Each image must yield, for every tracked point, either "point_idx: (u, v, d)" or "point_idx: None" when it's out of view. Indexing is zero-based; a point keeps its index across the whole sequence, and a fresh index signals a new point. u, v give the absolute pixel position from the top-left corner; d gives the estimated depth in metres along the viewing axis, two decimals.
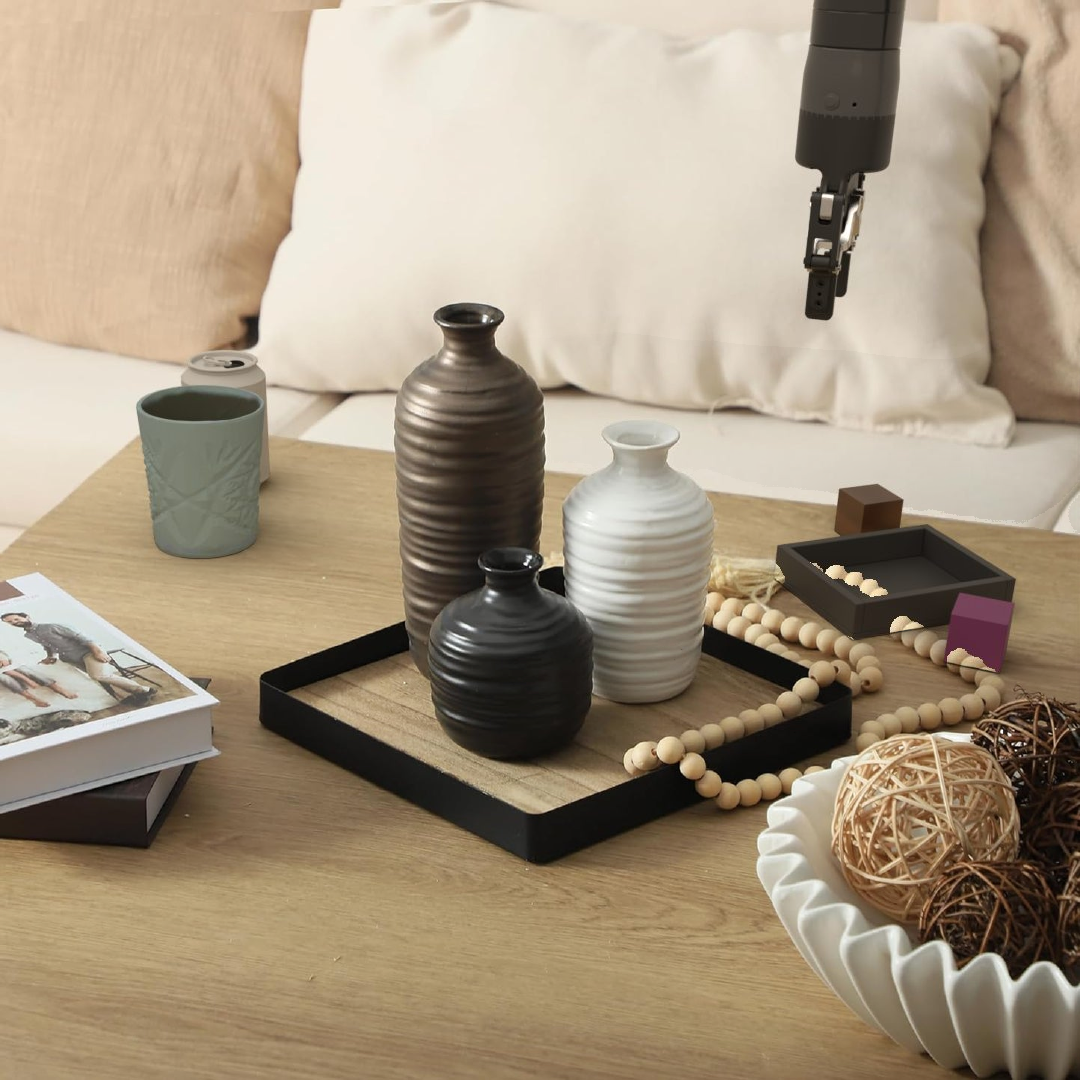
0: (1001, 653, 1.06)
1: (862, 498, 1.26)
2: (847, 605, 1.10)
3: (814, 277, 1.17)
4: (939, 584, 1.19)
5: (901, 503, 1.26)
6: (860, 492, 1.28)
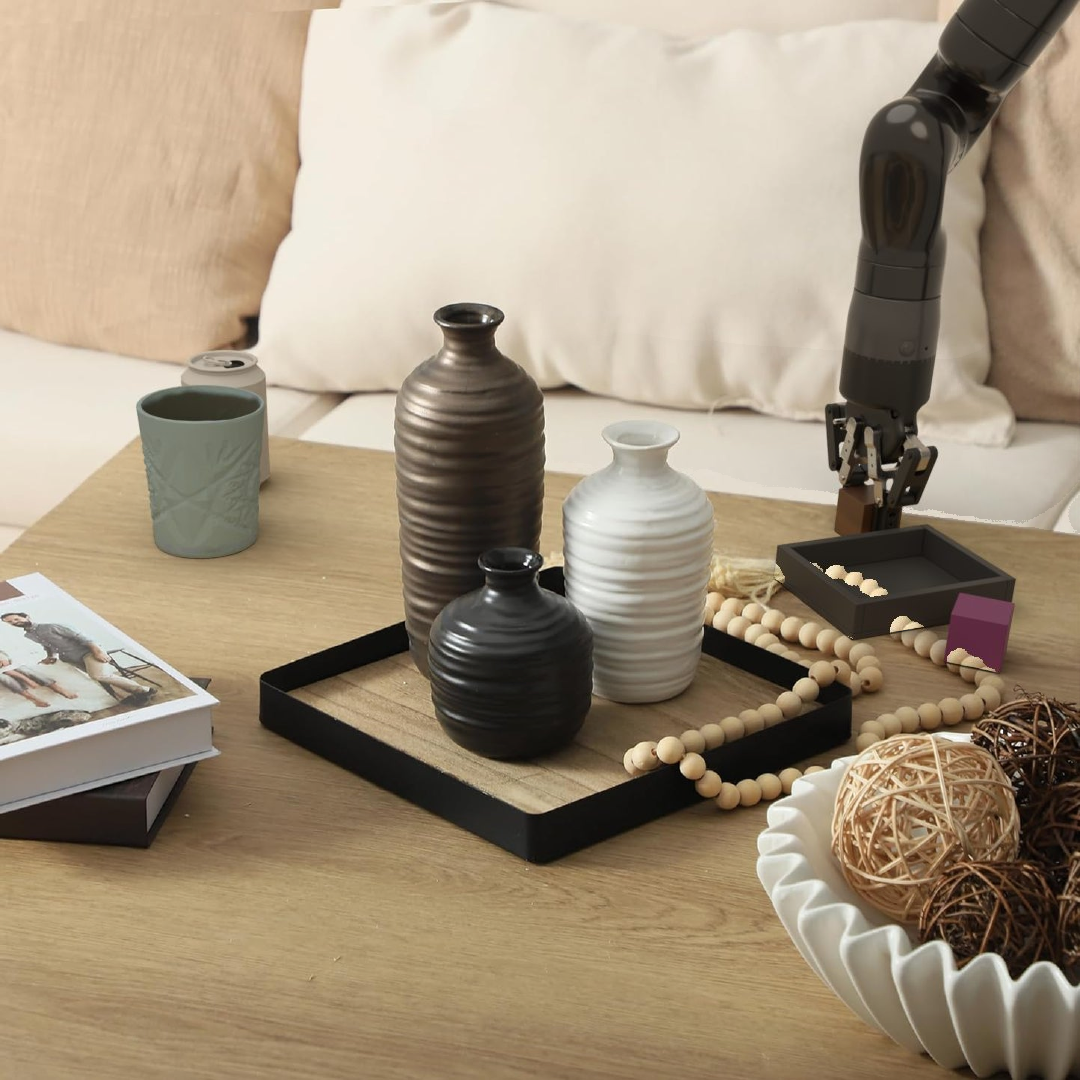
0: (1001, 653, 1.06)
1: (862, 498, 1.26)
2: (847, 605, 1.10)
3: (887, 511, 1.24)
4: (939, 584, 1.19)
5: None
6: (860, 492, 1.28)
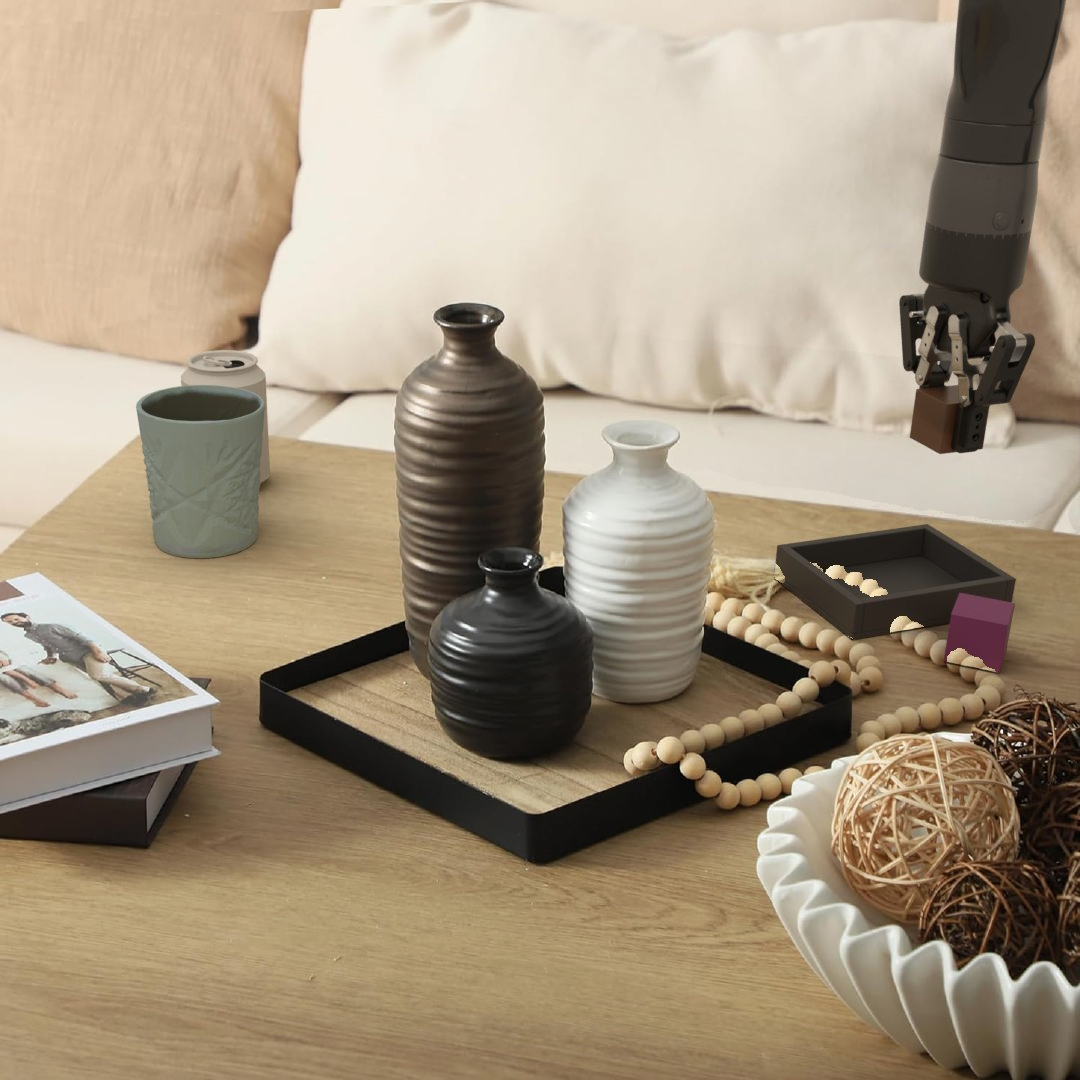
0: (1001, 653, 1.06)
1: (944, 398, 1.12)
2: (847, 605, 1.10)
3: (974, 411, 1.10)
4: (939, 584, 1.19)
5: None
6: (940, 392, 1.13)
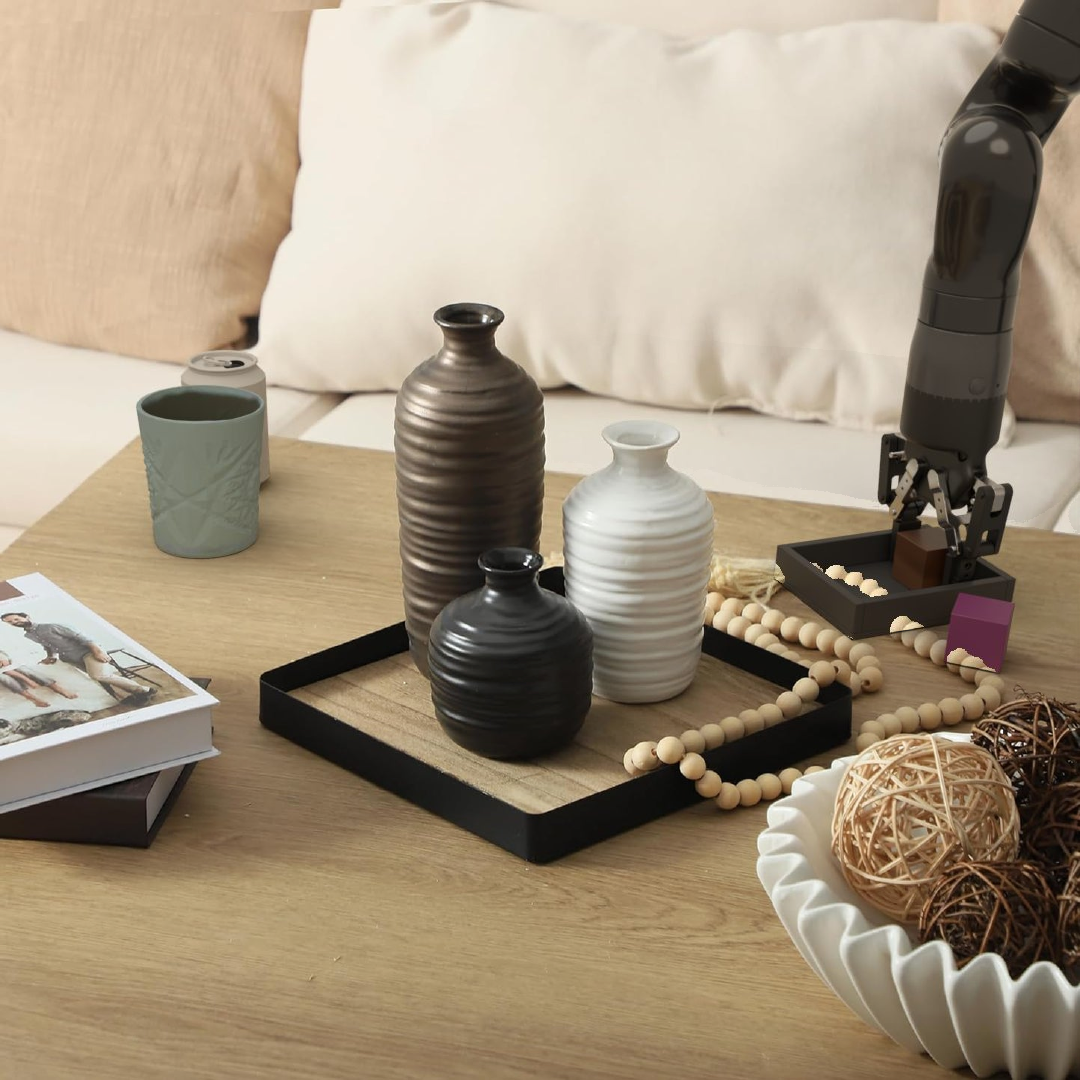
0: (1001, 653, 1.06)
1: (924, 543, 1.16)
2: (847, 605, 1.10)
3: (963, 561, 1.13)
4: None
5: None
6: (921, 536, 1.18)
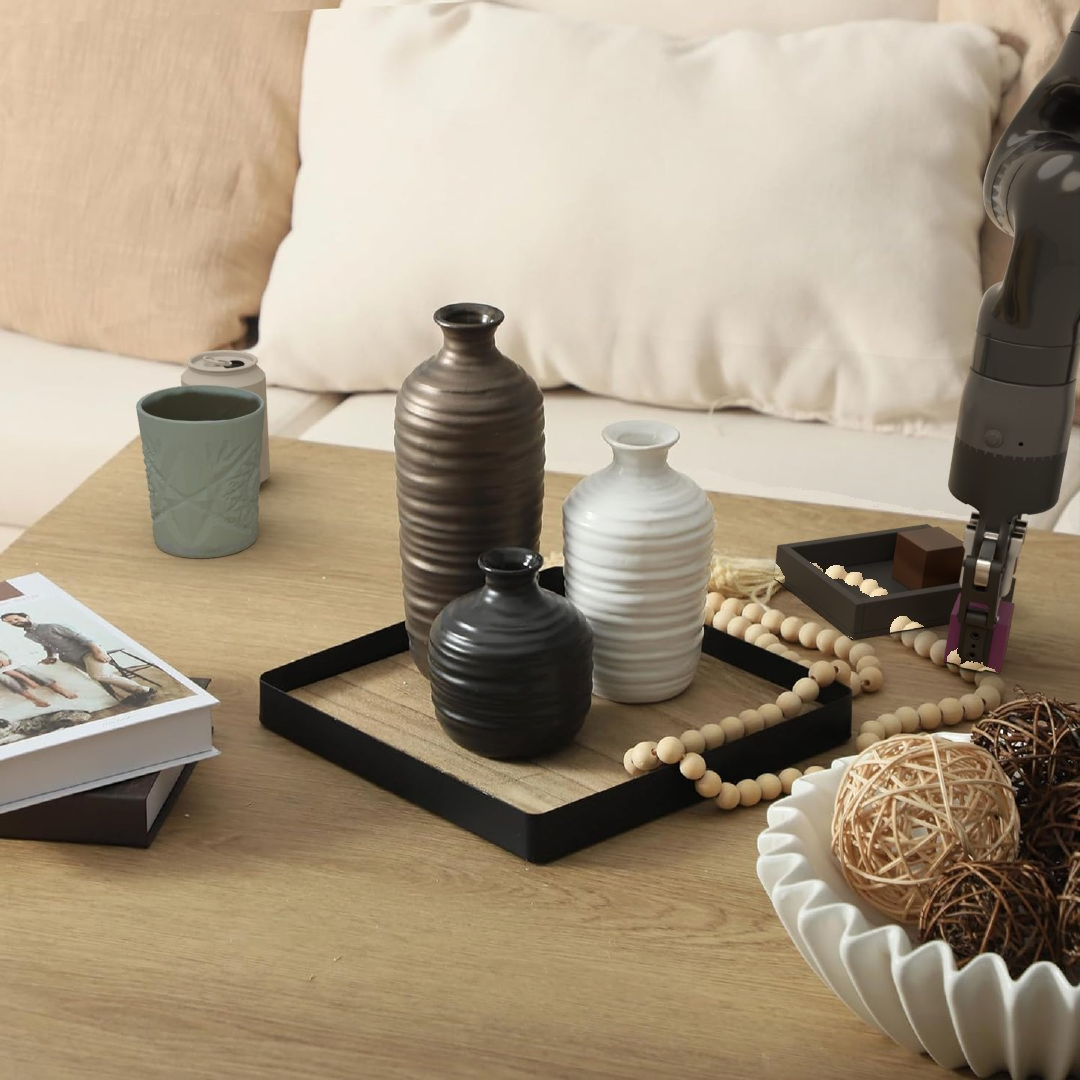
0: (1001, 653, 1.06)
1: (924, 543, 1.16)
2: (847, 605, 1.10)
3: (968, 628, 1.04)
4: None
5: None
6: (921, 536, 1.18)
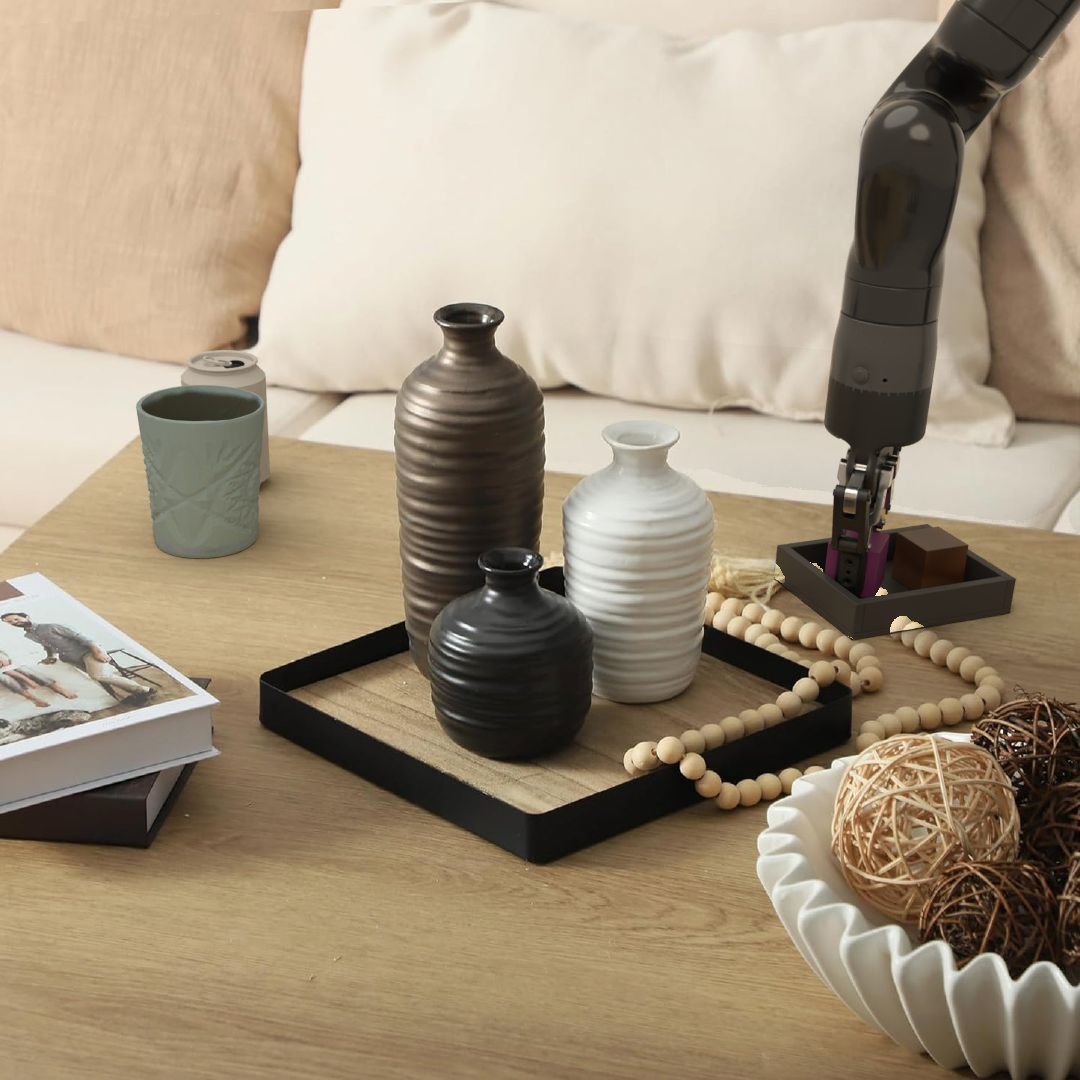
0: (874, 580, 1.13)
1: (924, 543, 1.16)
2: (847, 605, 1.10)
3: (843, 555, 1.12)
4: None
5: (966, 549, 1.16)
6: (921, 536, 1.18)
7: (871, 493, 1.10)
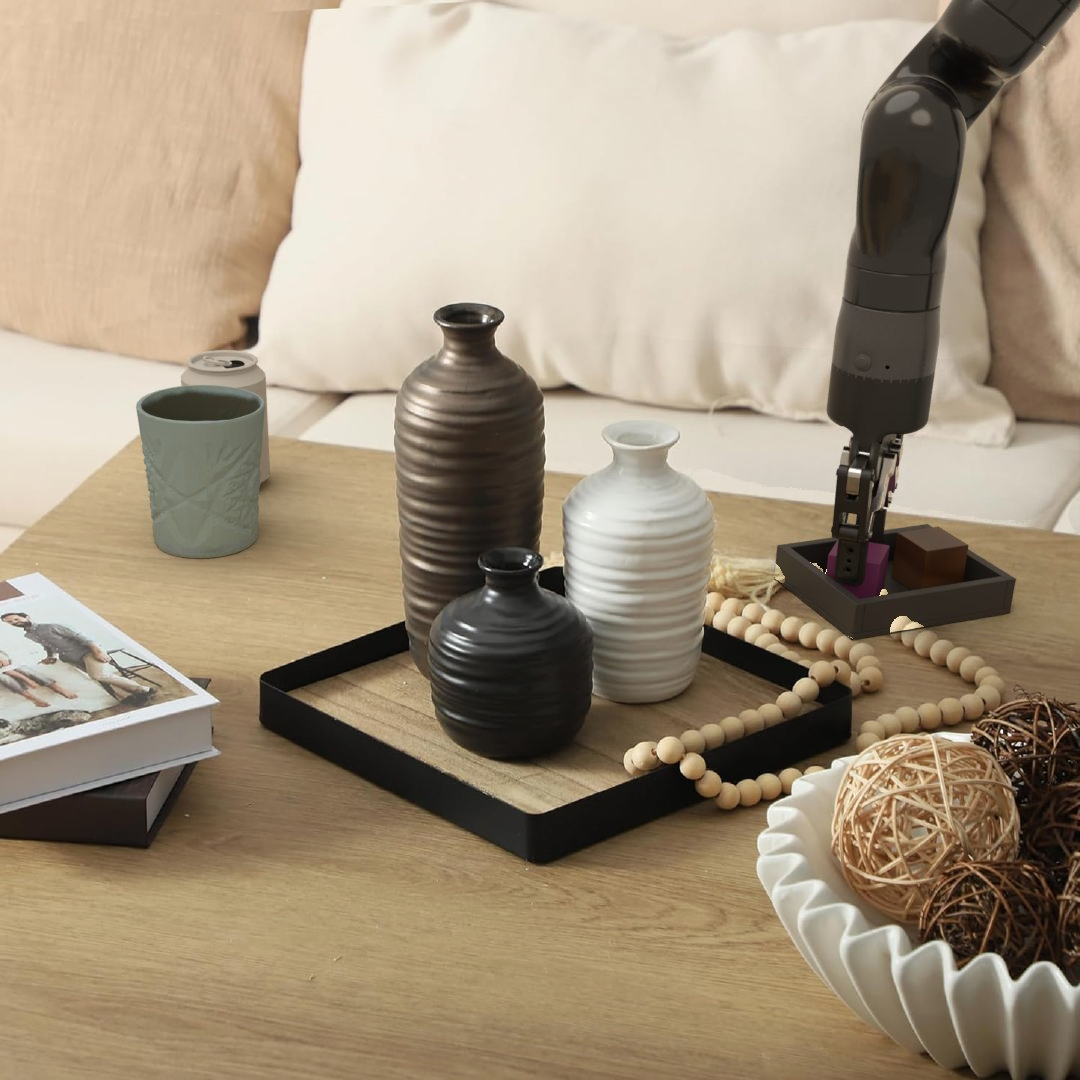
0: (874, 591, 1.13)
1: (924, 543, 1.16)
2: (847, 605, 1.10)
3: (843, 544, 1.11)
4: None
5: (966, 549, 1.16)
6: (921, 536, 1.18)
7: (874, 481, 1.09)
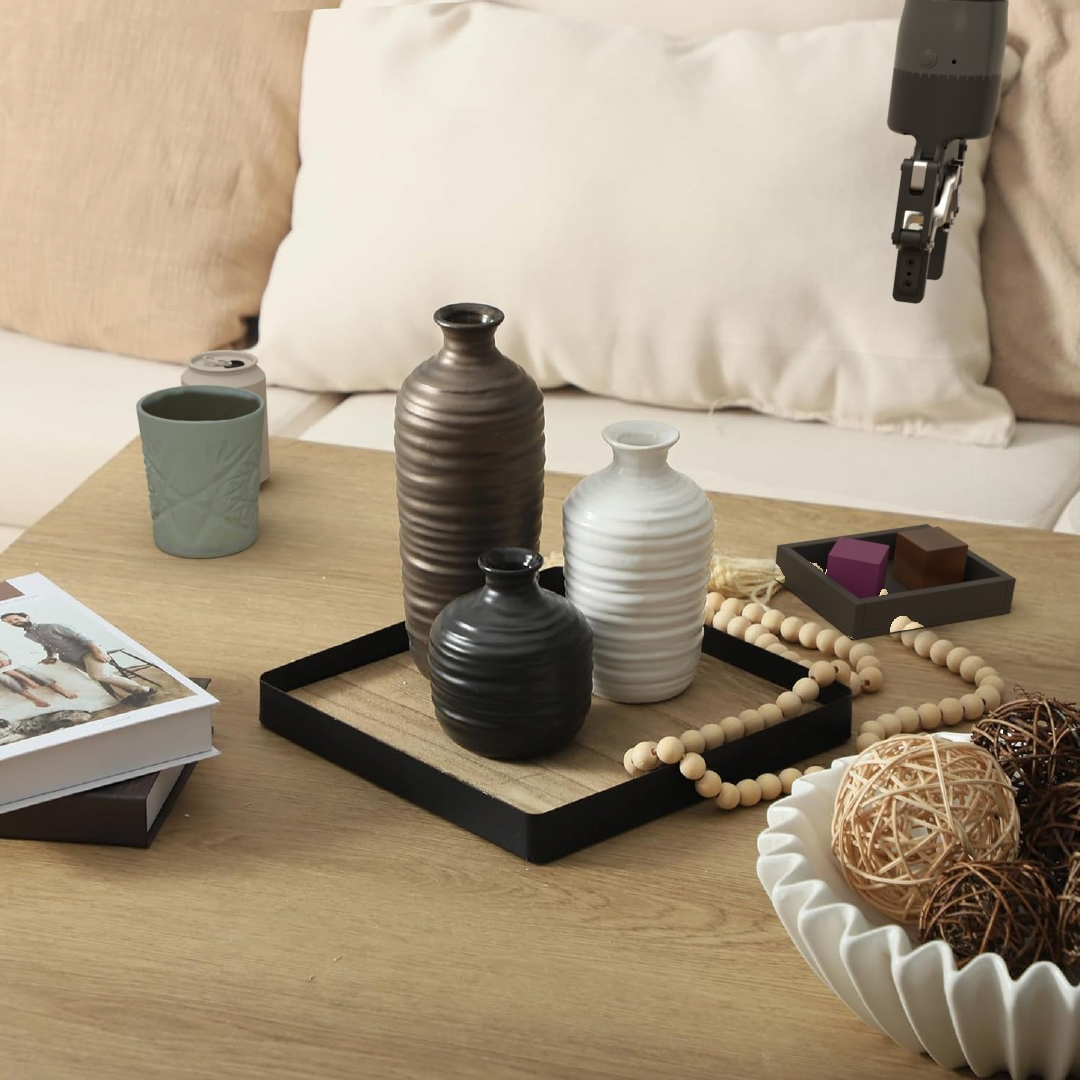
0: (874, 591, 1.13)
1: (924, 543, 1.16)
2: (847, 605, 1.10)
3: (903, 255, 1.05)
4: None
5: (966, 549, 1.16)
6: (921, 536, 1.18)
7: (937, 191, 1.05)
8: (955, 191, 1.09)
